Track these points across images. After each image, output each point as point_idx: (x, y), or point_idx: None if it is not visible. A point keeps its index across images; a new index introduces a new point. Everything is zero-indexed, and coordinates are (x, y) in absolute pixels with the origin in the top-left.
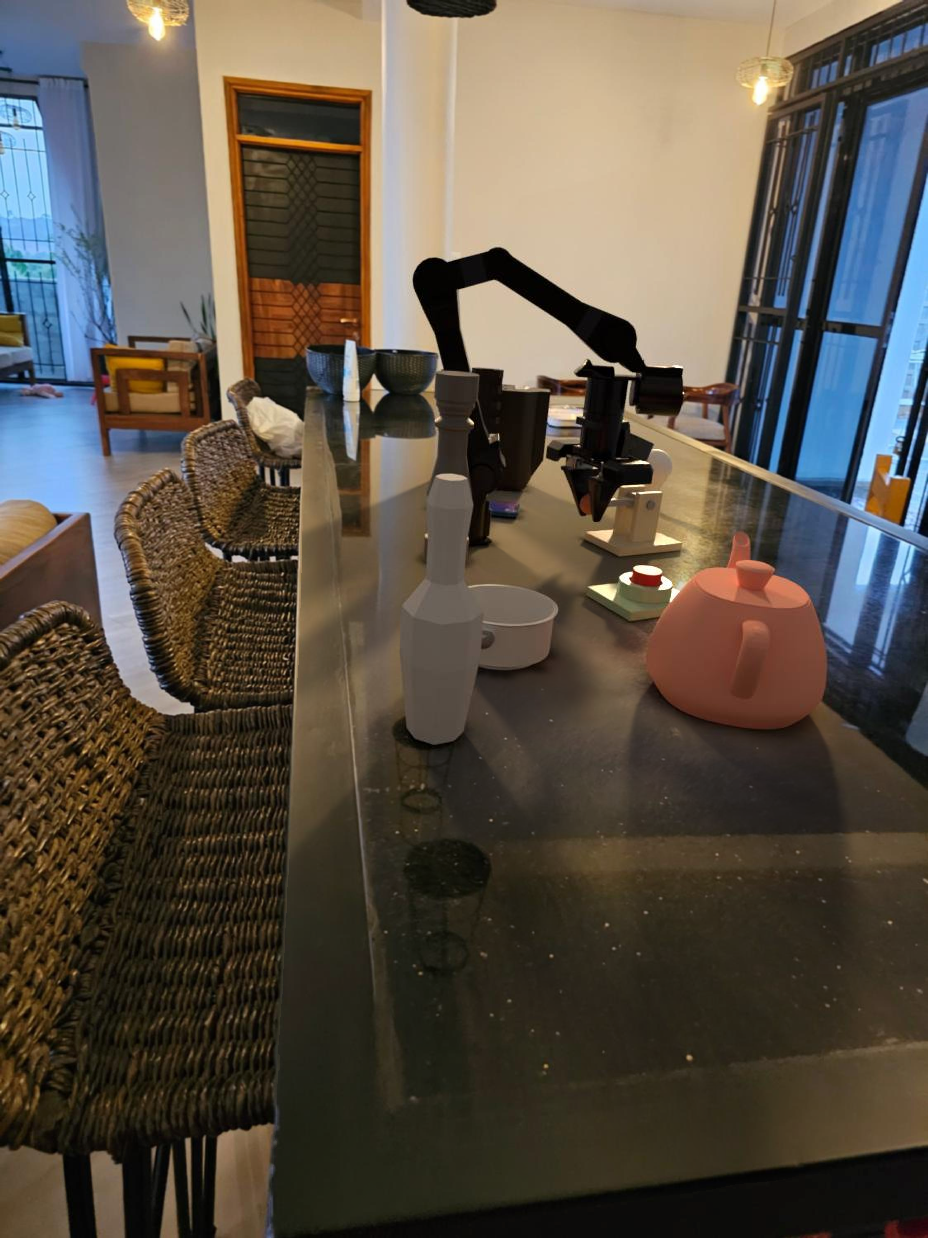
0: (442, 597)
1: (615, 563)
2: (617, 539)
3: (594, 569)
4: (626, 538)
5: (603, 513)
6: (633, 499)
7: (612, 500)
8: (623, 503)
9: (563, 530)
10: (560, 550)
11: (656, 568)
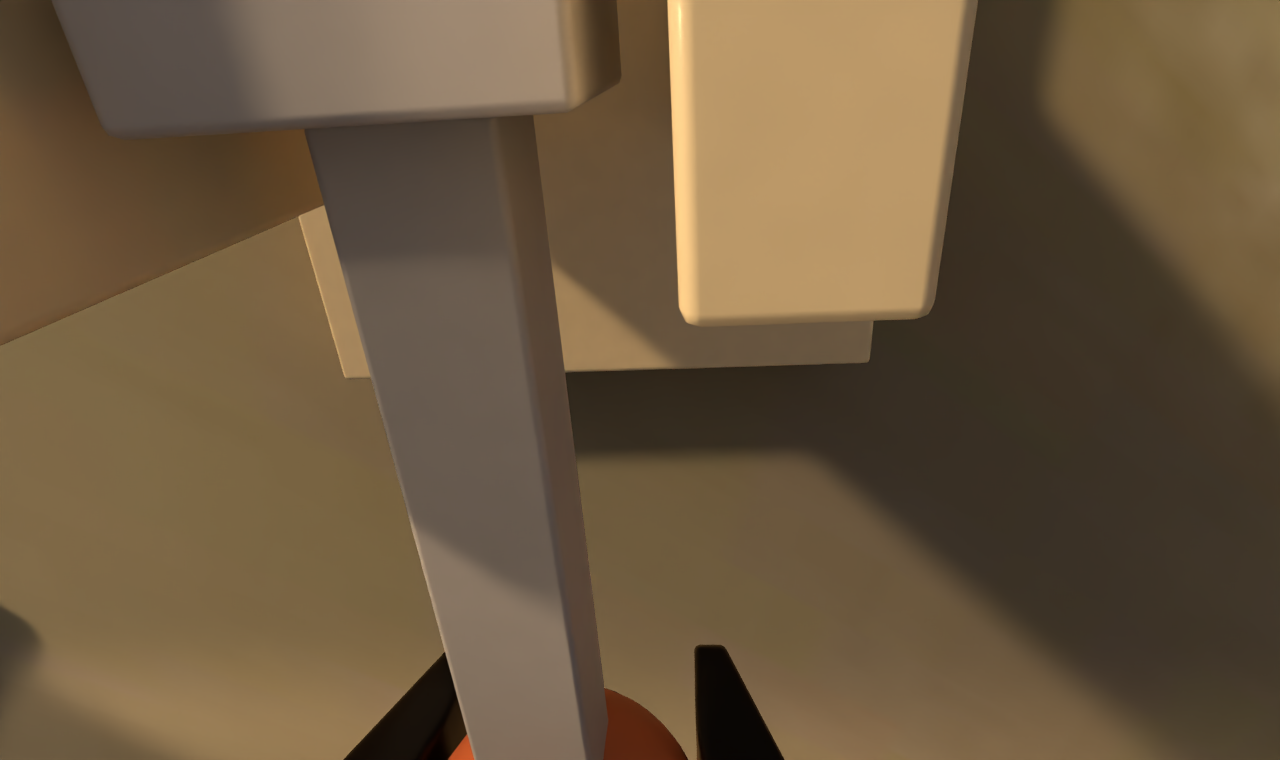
0: None
1: (965, 447)
2: (608, 216)
3: (995, 623)
4: None
5: (765, 728)
6: (501, 143)
7: (575, 657)
8: (554, 387)
9: (136, 383)
10: (607, 621)
11: None
